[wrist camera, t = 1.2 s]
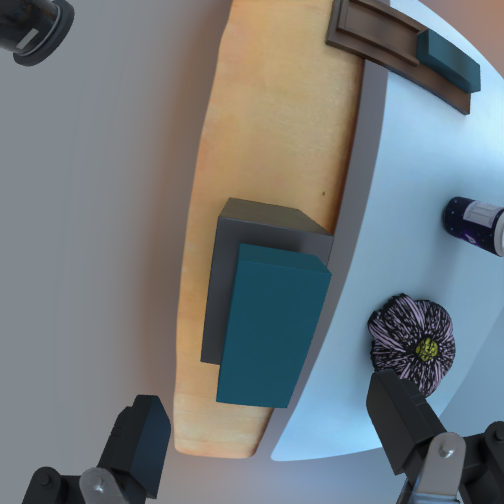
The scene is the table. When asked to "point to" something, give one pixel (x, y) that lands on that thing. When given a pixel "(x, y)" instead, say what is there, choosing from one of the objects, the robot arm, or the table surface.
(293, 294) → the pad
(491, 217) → the beverage can
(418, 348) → the decorative flower
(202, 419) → the table surface
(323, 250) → the pad stand
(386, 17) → the brown flat rectangular board
